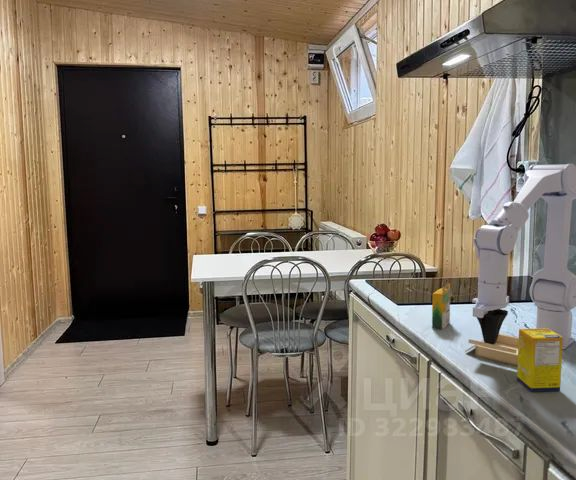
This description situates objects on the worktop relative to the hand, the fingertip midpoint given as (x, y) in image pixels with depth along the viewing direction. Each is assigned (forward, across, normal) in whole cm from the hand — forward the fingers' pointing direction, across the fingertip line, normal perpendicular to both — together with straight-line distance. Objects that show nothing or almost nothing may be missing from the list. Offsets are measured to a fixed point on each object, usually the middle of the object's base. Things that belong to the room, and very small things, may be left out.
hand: (489, 342), depth 110 cm
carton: (+5, -12, 0) cm, 13 cm away
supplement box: (+6, +3, +11) cm, 13 cm away
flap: (+1, -1, 0) cm, 2 cm away
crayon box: (+6, -21, -22) cm, 31 cm away
